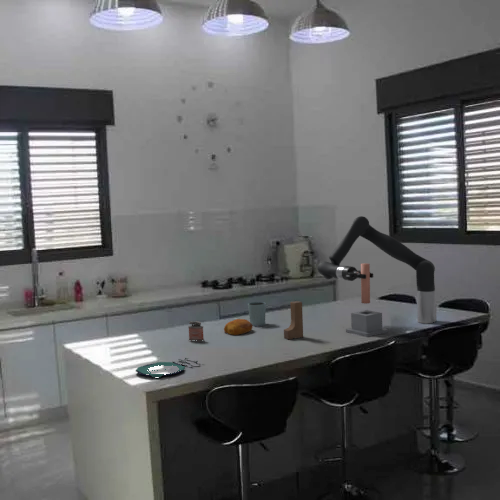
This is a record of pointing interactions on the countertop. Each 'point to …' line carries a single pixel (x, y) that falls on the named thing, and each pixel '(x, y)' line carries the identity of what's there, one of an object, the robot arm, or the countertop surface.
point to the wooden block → (295, 321)
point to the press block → (366, 323)
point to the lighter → (195, 331)
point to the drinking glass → (257, 313)
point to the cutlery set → (143, 370)
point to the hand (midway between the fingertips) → (369, 276)
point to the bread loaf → (238, 327)
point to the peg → (365, 284)
